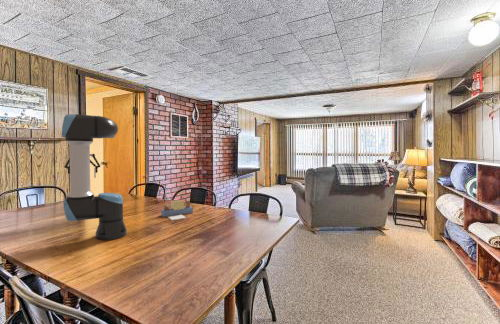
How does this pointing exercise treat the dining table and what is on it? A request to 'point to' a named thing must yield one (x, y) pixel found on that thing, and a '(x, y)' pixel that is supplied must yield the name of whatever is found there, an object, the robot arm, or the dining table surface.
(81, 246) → the dining table surface
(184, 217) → the felt mat
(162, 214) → the plane body
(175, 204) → the lever cap
